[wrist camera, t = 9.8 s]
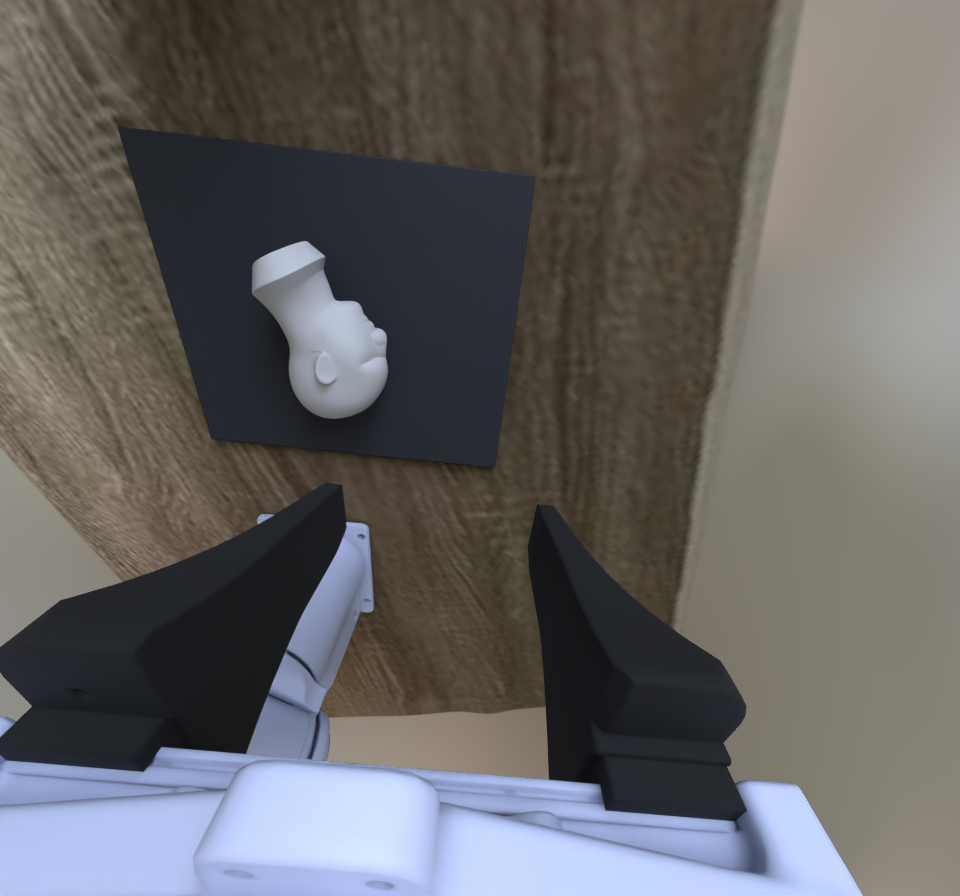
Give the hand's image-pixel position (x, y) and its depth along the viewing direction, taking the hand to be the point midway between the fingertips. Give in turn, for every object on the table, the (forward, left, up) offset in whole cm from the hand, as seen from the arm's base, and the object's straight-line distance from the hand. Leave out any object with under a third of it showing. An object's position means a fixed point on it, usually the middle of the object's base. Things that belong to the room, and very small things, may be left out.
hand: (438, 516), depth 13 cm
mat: (+5, +7, -9) cm, 12 cm away
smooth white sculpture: (+5, +6, -9) cm, 12 cm away
